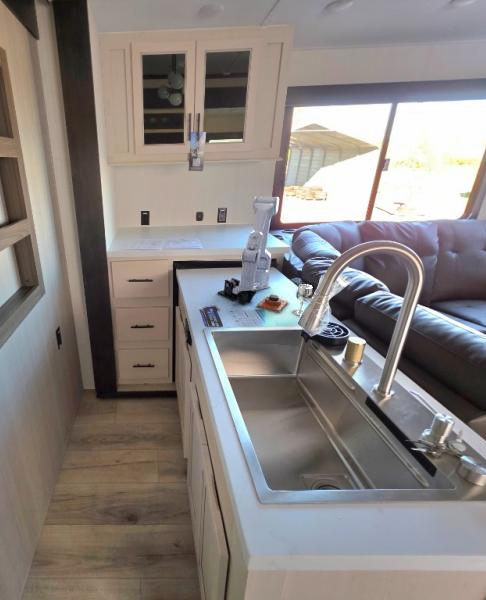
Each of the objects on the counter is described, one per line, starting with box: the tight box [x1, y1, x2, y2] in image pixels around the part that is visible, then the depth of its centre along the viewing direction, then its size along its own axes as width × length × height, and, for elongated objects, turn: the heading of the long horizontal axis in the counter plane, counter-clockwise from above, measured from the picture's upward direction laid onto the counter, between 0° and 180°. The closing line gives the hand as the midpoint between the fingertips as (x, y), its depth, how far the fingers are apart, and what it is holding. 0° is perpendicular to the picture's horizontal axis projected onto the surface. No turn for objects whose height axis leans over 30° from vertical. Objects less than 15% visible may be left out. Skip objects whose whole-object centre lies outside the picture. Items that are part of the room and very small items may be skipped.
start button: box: [269, 294, 280, 301], centre depth 135 cm, size 4×4×2 cm
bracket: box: [217, 277, 241, 302], centre depth 144 cm, size 10×7×8 cm
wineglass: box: [293, 283, 313, 316], centre depth 127 cm, size 6×6×12 cm
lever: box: [229, 279, 248, 302], centre depth 141 cm, size 12×3×3 cm, turn 30°
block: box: [257, 295, 289, 313], centre depth 136 cm, size 12×9×3 cm
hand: (244, 305), depth 140 cm, fingers closed on lever, 3 cm apart
